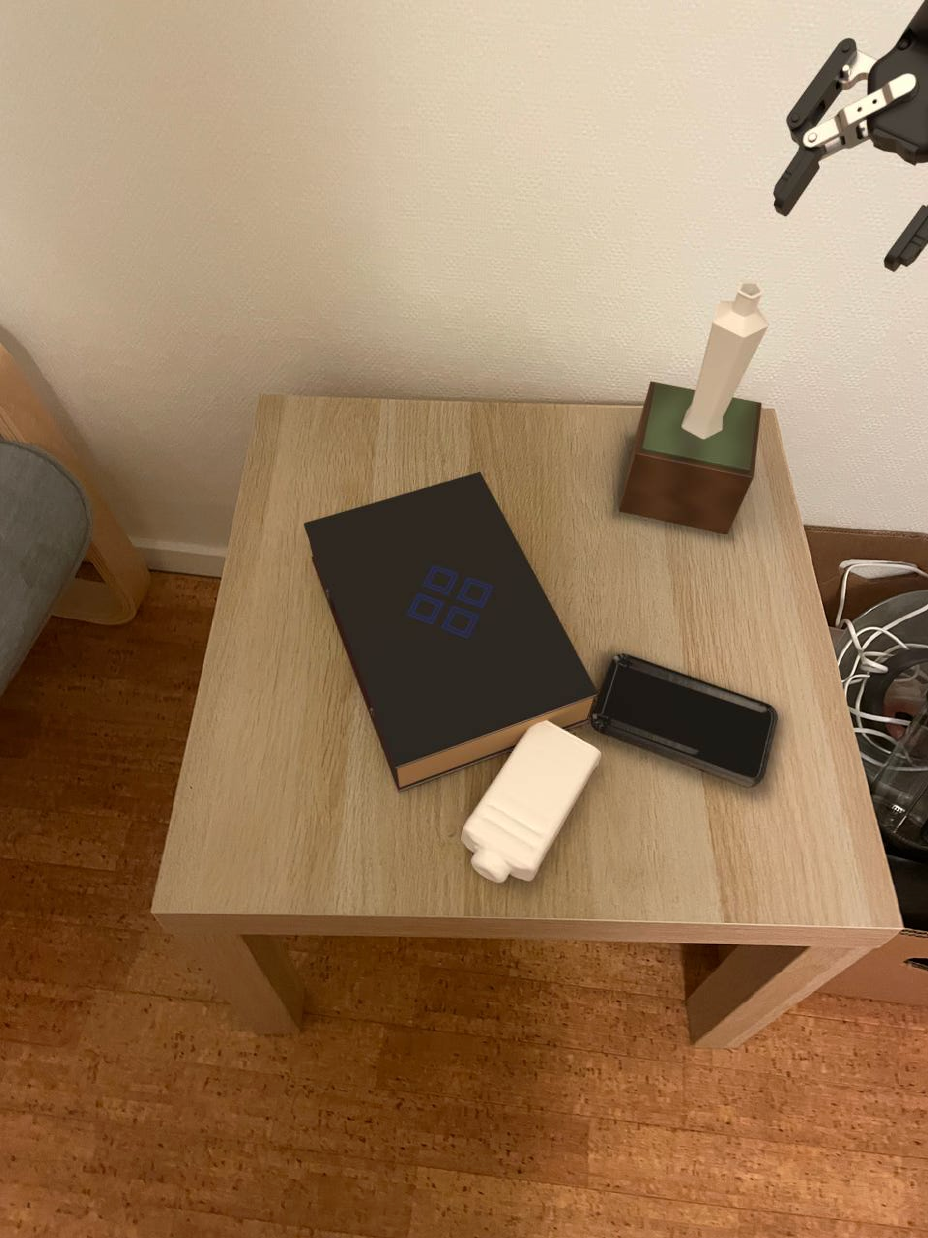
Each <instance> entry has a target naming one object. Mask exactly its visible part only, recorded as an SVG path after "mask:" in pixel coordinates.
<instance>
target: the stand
mask: <svg viewBox="0 0 928 1238" xmlns="http://www.w3.org/2000/svg"><path fill="white" fill-rule="evenodd" d="M695 390H696V389H693V388H687V387H683V386H678V385H672V384H667V383H662V382H657V381H652V380H651V381H650V382H649V384H648V387H647V392H646V396H645V399H644V403H643V406H642V411H641V414H640V418H639V421H638V424H637V429H636V432H635V436H634V439H633V444H632V449H631V454H630V457H629V463H628V467H627V473H626V477H625V480H624V481H625V482H624V486H623V491H622V496H621V500H620V504H619V512H621V513H626V514H631V515H635V516H640V517H645V518H650V519H654V520H658V521H664V522H668V523H673V524H677V525H682V526H687V527H691V528H695V529H700V530H705V531H709V532H715V533H719V534H724V535H728V534H729V532H730V530H731V527H732V525H733V523H734V521H735V519H736V516H737V514H738V512H739V510H740V508H741V506H742V503H743V501H744V500H745V497H746V495H747V493H748V491H749V489H750V487H751V485H752V482H753V480H754V478H755V472H756V471H755V469H756V461H757V450H758V443H759V433H760V432H759V431H760V423H761V413H762V407H763V406H762V405H763V403H762V402H759V401H755V400H749V399H744V398H739V397H734V396H733V397H732V399H731V401H730V403H729V405H728V407H727V409H726V411H725V413H724V415H723V429H722V431H720V432H718V433H716V434H714V435H712V436H710V437H708V438H706V439H701V438H699V437H697V436H696V435H694V434H692V433H690V432H688V431H687V430H685V429H683V428H682V423H683V420H684V417H685V414H686V411H687V410H688V409H689V407H690V406H691V404H692V402H693V398H694V394H695Z"/></svg>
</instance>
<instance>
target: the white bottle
mask: <svg viewBox="0 0 928 1238" xmlns="http://www.w3.org/2000/svg"><path fill="white" fill-rule="evenodd" d="M601 758H602V752H601V751H600V750H599V749H598V748H597V747H595V746H594V745H593V744H590V743H589V742H586V741H585V740H583V739H580V738H579V737H578V736H575V735H574V734H573V733H570V732H568V731H565V730H563V729H562V728H559V727H558V726H556V725H554V724H552V723H551V722H549V721H547V720H546V721H543V722H540V723H537V724H535V725H533V726H531V727H529V728H528V729H527V730H526V732H525V733H524V735H523V736H522V738H521V739H520V741H519V742H518V744H517V745H516V747H515V748H514V750H513V751H511V753H510V754H509V755H508V758H507V759H506V761H505V762H504V764H503V765H502V767H501V768H500V770H499V772H498V773H497V775H496V776H495V778H494V779H493V780H492V782H491V783H490V786H489V787H488V788H487V790H486V791H485V793H484V794H483V796H482V797H481V799H480V800H479V802H478V804H477V805H476V807H475V808H474V810H473V811H472V813H471V814H470V815H469V816H468V818H467V819H466V821H465V823H464V825H463V826H462V831H461V836H460V841H461V843H462V844H463V845H464V846H465V847H466V849H467V850H469V851H470V852H472V853H473V855H472V857H471V858H470V865H471V867H472V868H473V869H474V870H475V872H477V874H479V875H481V876H482V877H483V878H485V879H487V880H489V881H491V882H494V883H496V884H502V883H504V882H505V881H506V880H507V878H508V877H509V875H510V876H512V877H513V878H516V879H518V880H522V881H524V882H531V881H533V880H534V879H535V876H536V875H537V873H538V872H539V869H540V866H541V864H542V863H543V861H544V859H545V857H546V856H547V854H548V852H549V851H550V849H551V848H552V847H551V846H552V845H553V843H554V842H555V840H556V838H557V836H558V834H559V832H560V831H561V829H562V827H563V825H564V824H565V822H566V820H567V819H568V817H569V814H570V813H571V811H572V809H573V808H574V806H575V804H576V803H577V801H578V799H579V797H580V795H581V794H582V792H583V790H584V788H585V786H586V784H587V783H588V781H589V780H590V778H591V775H592V774H593V772H594V770H595V769H596V768H597V767H598V766H599V763H600V760H601Z"/></svg>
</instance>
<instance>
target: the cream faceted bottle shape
mask: <svg viewBox="0 0 928 1238" xmlns="http://www.w3.org/2000/svg"><path fill="white" fill-rule="evenodd" d="M736 292H737V293H736V296H735V299H734V301H729V300H720V301H719V302H718V305H717V308H716V311H715V314H714V316H713V320H712V324H711V326H710V332H709V335H708V339H707V343H706V347H705V350H704V354H703V355H704V356H703V358H702V362H701V366H700V369H699V370H700V371H699V375H698V378H697V383H696V386H695V389H694V390H695V394H694V398H693V402H692V404H691V406H690V407H689V409H688V410H687V411H686V414H685V417H684V420H683V423H682V428H683V429H685V430H687V431H688V432H690V433H692V434H694V435H696V436H697V437H699V438H701V439H706V438H708V437H710V436H712V435H714V434H716V433H718V432H720V431H722V429H723V415H724V413H725V411H726V409H727V407H728V405H729V403H730V401H731V399H732V397H734V396H735V394H736V392H737V389H738V387H739V385H740V383H741V381H742V379H743V378H744V376H745V374H746V371H747V369H748V368H749V365H750V363H751V362H752V359H753V357H754V355H755V353H756V351H757V349H758V347H759V346H760V343H761V342H762V340H763V337H764V336H765V333H766V332H767V330H768V327H769V322H768V320H767V319H766V317H765V316H764V314H763V313H762V312H761V310H760V309H759V307H758V306H759V305H758V304H759V302H760V299H761V297H762V296H763V295H764V294H765V290H764V289H763V288H762V287H761V285H760V284H759V283H758V282H757V281H747V280H746V281H744V280H742V281H739V283H738V285H737V288H736Z"/></svg>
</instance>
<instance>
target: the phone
mask: <svg viewBox="0 0 928 1238" xmlns="http://www.w3.org/2000/svg"><path fill="white" fill-rule="evenodd" d="M778 719H779V715H778V711H777V710H776V709H775V707H773V705H771V704H770V703H768V702H764V701H762V700H759V699H756V698H752V697H751V696H747V695H744V694H742V693H739V692H736V691H733V690H730V689H727V688H725V687H722V686H719V685H716V684H713V683H711V682H708V681H705V680H702V679H699V678H696V677H693V676H691V675H688V674H685V673H682V672H680V671H676V670H674V669H670V668H668V667H666V666H662V665H659V664H658V663H654V662H651V661H649V660H646V659H643V658H640V657H637V656H634V655H632V654H629V653H624V652H621V653H618V654H615V655H614V656H613V657H612V659H611V661H610V664H609V666H608V669H607V672H606V674H605V677H604V680H603V683H602V686H601V688H600V691H599V693H598V695H597V699H596V702H595V705H594V707H593V710H592V713H591V716H590V724H591V726H592V728H593V729H594V730H595V731H597V732H598V733H601V734H603V735H606V736H607V737H611V738H614V739H617V740H618V741H621V742H625V743H627V744H630V745H631V746H635V747H636V748H637V747H638V748H640V749H643V750H645V751H648V752H651V753H654V754H657V755H659V756H661V757H665V758H667V759H670V760H672V761H675V762H678V763H681V764H684V765H686V766H688V767H691V768H694V769H696V770H699V771H702V772H705V773H707V774H710V775H713V776H715V777H718V778H721V779H723V780H726V781H728V782H731V783H734V784H735V785H739V786H742V787H745V788H754V787H756V786H758V785H759V784H760V783H761V781H762V780H763V779H764V778H765V776H766V772H767V767H768V763H769V759H770V754H771V751H772V746H773V742H774V737H775V733H776V729H777V725H778Z"/></svg>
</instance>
